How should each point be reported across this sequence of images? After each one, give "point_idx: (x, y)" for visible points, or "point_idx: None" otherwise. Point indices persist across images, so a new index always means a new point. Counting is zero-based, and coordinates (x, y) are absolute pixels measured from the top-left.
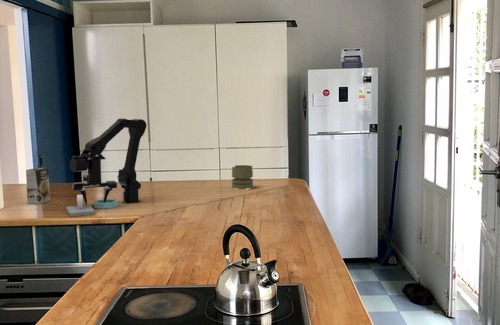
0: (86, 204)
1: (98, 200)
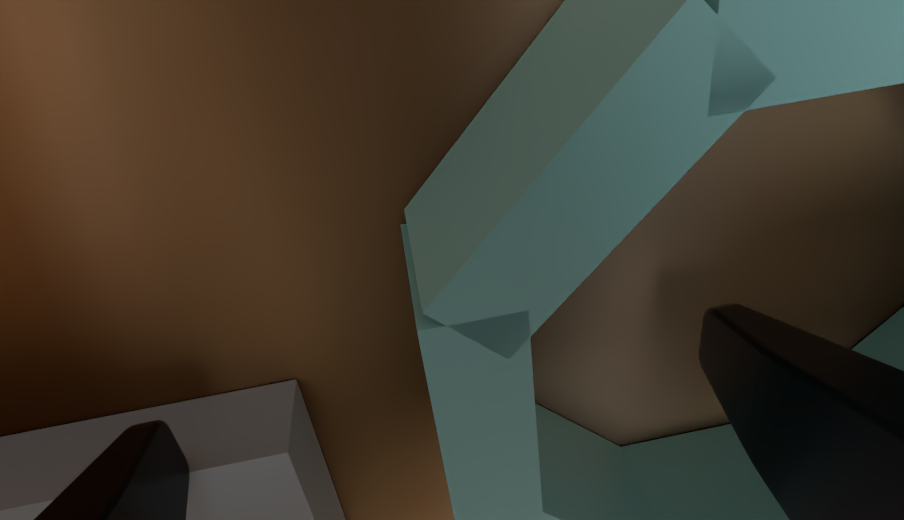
0: (175, 498)
1: (616, 200)
